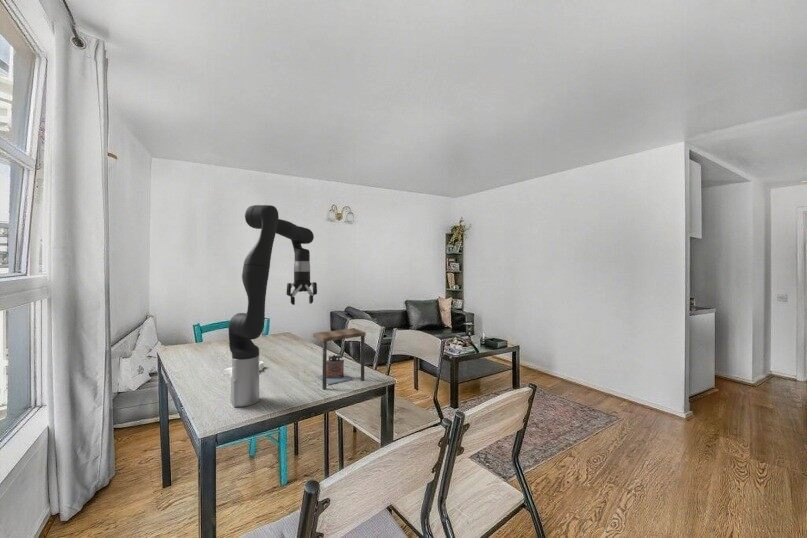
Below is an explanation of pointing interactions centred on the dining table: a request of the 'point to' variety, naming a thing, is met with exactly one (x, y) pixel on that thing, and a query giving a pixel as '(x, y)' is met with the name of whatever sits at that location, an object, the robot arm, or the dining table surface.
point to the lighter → (335, 367)
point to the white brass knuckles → (229, 370)
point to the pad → (336, 379)
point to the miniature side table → (336, 336)
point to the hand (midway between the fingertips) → (302, 304)
